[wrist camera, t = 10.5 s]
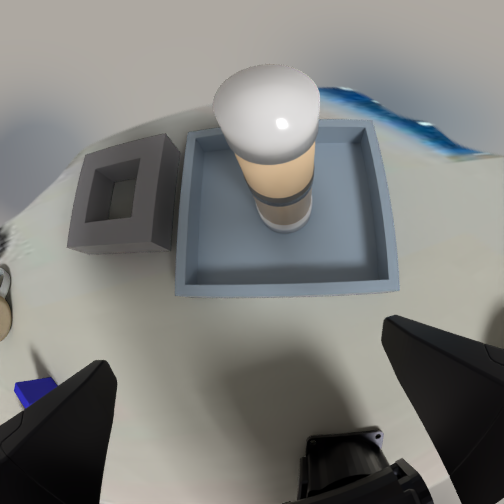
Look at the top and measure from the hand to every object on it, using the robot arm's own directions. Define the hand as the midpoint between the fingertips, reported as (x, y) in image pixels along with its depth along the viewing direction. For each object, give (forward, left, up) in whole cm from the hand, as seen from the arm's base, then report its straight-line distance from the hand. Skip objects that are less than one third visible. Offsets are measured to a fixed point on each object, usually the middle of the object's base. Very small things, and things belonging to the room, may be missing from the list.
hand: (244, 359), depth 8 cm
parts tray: (-1, -9, -14) cm, 16 cm away
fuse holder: (+14, -11, -14) cm, 23 cm away
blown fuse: (-1, -9, -13) cm, 16 cm away
